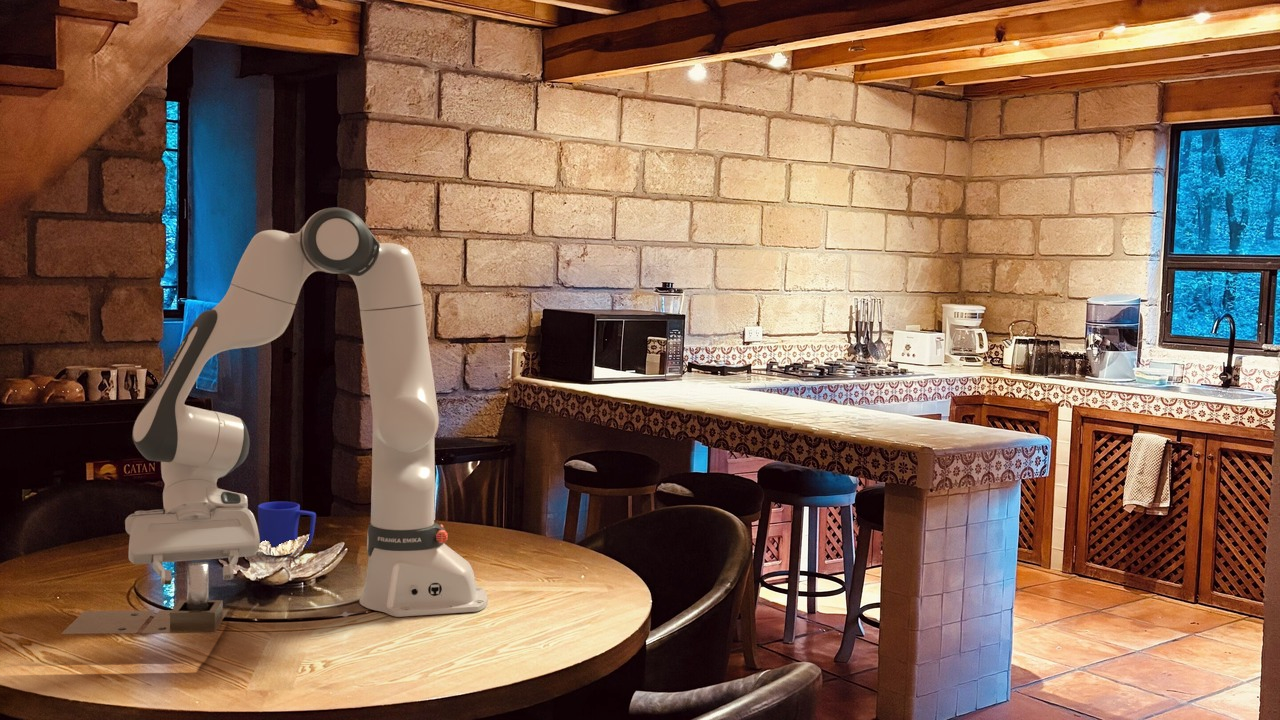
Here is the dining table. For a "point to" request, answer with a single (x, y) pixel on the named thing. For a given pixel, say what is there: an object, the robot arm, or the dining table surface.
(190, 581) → the pin
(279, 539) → the mug
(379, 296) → the robot arm
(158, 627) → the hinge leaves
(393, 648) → the dining table surface
